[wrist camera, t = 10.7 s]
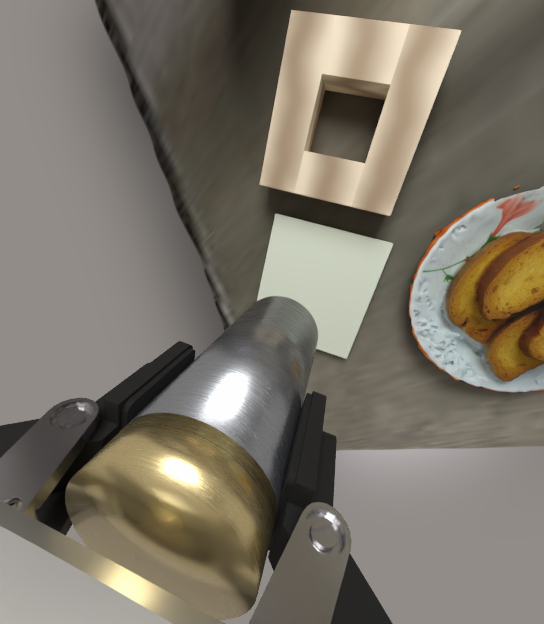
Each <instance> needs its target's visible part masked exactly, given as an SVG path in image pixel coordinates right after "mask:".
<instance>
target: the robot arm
mask: <svg viewBox="0 0 544 624" xmlns="http://www.w3.org/2000/svg"><path fill="white" fill-rule="evenodd" d="M194 358H195V350H193V347H192V346H191V345H189V344H186V343H184V342H181V341H179V342H177V343H176V344H175V345H173V346H172V347H171V348H169V349H168V350H167V351H165V352H164V353H163V354H161V355H160V356H159V357H158V358H156V359H155V360H153V361H152V362H151V363H147V364H146V365H144V366H143V367H141V368H140V369H139V370H137V371H136V372H135V373H133V374H132V375H131V376H129V377H128V378H127V379H125V380H124V381H123V382H121V383H120V384H119V385H117V386H116V387H115V388H113V389H112V390H111V391H109V392H108V393H107V394H105V395H104V396H103V397H101V398H100V399H98V400H97V401H96V402H94V401H93V400H90V399H87V398H75V399H70V400H66V401H63V402H61V403H59V404H57V405H55V406H54V407H52V408H51V409H50V410H49V411H48V412H47V413H46V414H45V415H44V416H43V417H41V418H40V419H36V420H30V421H24V422H19V423H13V424H7V425H2V426H0V624H225V623H223V622H221V621H219V620H218V619H216V618H214V617H212V616H210V615H209V614H207V613H205V612H203V611H201V610H200V609H198V608H196V607H194V606H192V605H191V604H189V603H187V602H185V601H183V600H182V599H180V598H178V597H176V596H174V595H173V594H171V593H169V592H167V591H165V590H164V589H162V588H160V587H158V586H156V585H155V584H153V583H151V582H149V581H147V580H146V579H144V578H142V577H140V576H138V575H136V574H135V573H133V572H131V571H129V570H127V569H126V568H124V567H122V566H120V565H118V564H116V563H115V562H113V561H111V560H109V559H107V558H105V557H104V556H102V555H100V554H98V553H96V552H95V551H93V550H91V549H89V548H87V547H85V546H83V545H82V544H80V543H78V542H76V541H74V540H73V539H71V538H69V537H67V536H66V534H67V532H68V531H69V529H70V528H71V526H72V522H71V520H70V517H69V515H68V512H67V508H66V504H65V492H66V487H67V485H68V482H69V481H70V480H71V478H72V477H73V476H74V475H75V474H76V473H77V472H78V471H79V470H80V469H81V468H82V467H83V466H84V465H85V464H87V463H88V462H89V461H90V460H91V459H92V458H93V457H94V456H95V455H96V454H97V453H98V452H99V451H100V450H101V449H102V448H103V447H104V446H105V445H106V444H107V443H108V442H110V441H111V440H112V439H113V438H114V437H115V436H116V435H117V434H118V433H119V432H120V431H121V430H122V429H123V428H124V427H125V426H126V425H127V424H128V423H129V422H130V421H131V420H133V419H134V418H135V417H136V416H137V415H138V414H139V413H140V412H141V411H142V410H143V409H144V408H145V407H146V406H147V405H148V404H149V403H150V402H151V401H152V400H153V399H154V398H155V397H157V396H158V395H159V394H160V393H161V392H162V391H163V390H164V389H165V388H166V387H167V386H168V385H169V384H170V383H171V382H172V381H173V380H174V379H175V378H176V377H177V376H178V375H180V374H181V373H182V372H183V371H184V370H185V369H186V368H187V367H188V366H189V365H190V364H191V363H192V362H193V361H194ZM325 405H326V396H325V395H322V394H319V393H317V392H314V391H313V393H312V394H309V393H307V395H306V397H305V400H304V403H303V405H302V408H301V412H300V416H299V420H298V424H297V428H296V433H295V437H294V441H293V445H292V449H291V453H290V457H289V462H288V466H287V470H286V474H285V478H284V482H283V486H282V491H281V495H280V499H279V506H278V510H277V514H276V518H275V523H274V527H273V531H272V535H271V539H270V544H269V548H268V550H270V552H269V557H268V558H269V561H270V563H271V565H272V568H273V570H274V573H273V575H272V577H271V579H270V581H269V583H268V585H267V587H266V589H265V591H264V593H263V595H262V597H261V599H260V601H259V604H258V606H257V608H256V610H255V612H254V614H253V616H252V618H251V620H250V623H249V624H392V622H391V621H390V619H389V617H388V616H387V614H386V612H385V611H384V609H383V607H382V606H381V604H380V603H379V601H378V599H377V597H376V596H375V594H374V592H373V591H372V589H371V588H370V586H369V584H368V583H367V581H366V579H365V578H364V576H363V574H362V573H361V571H360V569H359V568H358V566H357V564H356V563H355V561H354V559H353V558H352V556H351V555H350V549H351V537H350V531H349V528H348V526H347V523H346V522H345V520H344V519H343V517H342V516H341V514H340V513H339V512H338V511H337V510H336V509H335V508H333V496H334V477H335V458H336V436H334V435H331V434H329V433H326V432H324V431H322V430H323V422H324V413H325Z"/></svg>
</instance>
